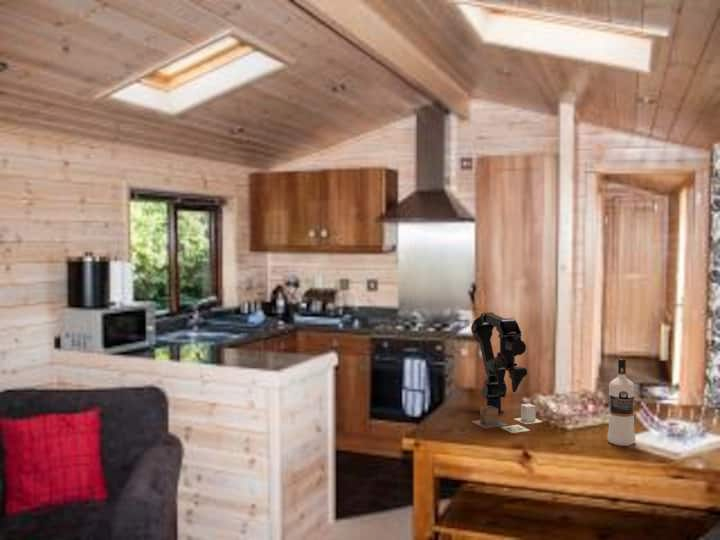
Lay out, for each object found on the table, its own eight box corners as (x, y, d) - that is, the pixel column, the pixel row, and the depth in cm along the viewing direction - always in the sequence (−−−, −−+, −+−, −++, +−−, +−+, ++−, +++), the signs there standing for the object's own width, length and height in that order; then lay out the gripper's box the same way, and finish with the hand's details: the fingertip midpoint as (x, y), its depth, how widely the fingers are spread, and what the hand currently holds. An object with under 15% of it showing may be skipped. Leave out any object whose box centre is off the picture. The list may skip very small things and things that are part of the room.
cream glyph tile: (500, 427, 254) (500, 427, 254) (517, 425, 257) (517, 424, 257) (512, 433, 247) (512, 433, 247) (530, 431, 250) (530, 430, 250)
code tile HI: (513, 419, 265) (513, 418, 265) (530, 417, 268) (530, 416, 268) (525, 425, 257) (525, 424, 257) (542, 422, 260) (542, 421, 260)
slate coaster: (471, 422, 262) (471, 421, 262) (493, 419, 266) (493, 418, 266) (485, 429, 253) (485, 428, 253) (507, 425, 256) (507, 424, 256)
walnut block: (480, 422, 261) (480, 407, 260) (491, 420, 262) (491, 405, 262) (487, 425, 256) (487, 410, 256) (498, 423, 258) (498, 408, 257)
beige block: (520, 419, 263) (520, 404, 263) (529, 418, 265) (529, 403, 265) (527, 422, 260) (527, 407, 259) (535, 420, 261) (535, 405, 261)
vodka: (635, 439, 238) (636, 356, 236) (635, 447, 229) (636, 362, 227) (607, 437, 241) (608, 355, 239) (607, 445, 233) (607, 360, 231)
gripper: (476, 348, 267) (477, 386, 268) (503, 356, 250) (503, 397, 251) (500, 345, 271) (500, 383, 272) (528, 353, 254) (528, 394, 255)
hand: (507, 389), depth 263 cm, fingers open, 9 cm apart
